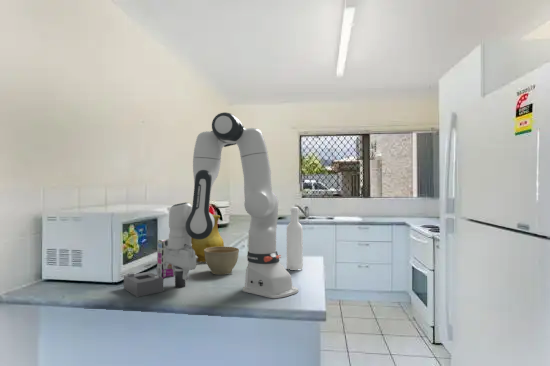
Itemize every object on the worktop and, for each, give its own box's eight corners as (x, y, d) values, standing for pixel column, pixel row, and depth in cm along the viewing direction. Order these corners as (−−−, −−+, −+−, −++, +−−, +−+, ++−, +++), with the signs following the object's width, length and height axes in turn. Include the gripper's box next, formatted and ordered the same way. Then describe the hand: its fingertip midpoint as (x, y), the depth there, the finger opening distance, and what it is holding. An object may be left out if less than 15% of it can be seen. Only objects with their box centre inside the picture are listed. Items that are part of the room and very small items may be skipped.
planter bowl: (213, 279, 155) (213, 253, 155) (198, 271, 168) (198, 248, 168) (245, 273, 164) (245, 249, 164) (228, 267, 177) (228, 245, 177)
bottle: (305, 268, 174) (305, 207, 174) (298, 271, 167) (298, 207, 167) (290, 266, 178) (290, 206, 178) (283, 269, 171) (283, 207, 171)
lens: (187, 286, 143) (187, 266, 143) (177, 288, 141) (177, 267, 141) (182, 284, 146) (182, 264, 146) (173, 286, 144) (173, 265, 144)
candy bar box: (162, 278, 155) (162, 241, 155) (156, 276, 159) (156, 239, 159) (184, 274, 163) (184, 238, 163) (178, 272, 167) (178, 237, 167)
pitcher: (204, 264, 182) (204, 215, 183) (184, 260, 195) (184, 214, 196) (230, 260, 194) (230, 214, 196) (210, 257, 207) (209, 214, 209)
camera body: (163, 291, 137) (163, 275, 137) (137, 296, 130) (137, 280, 130) (148, 283, 147) (148, 269, 147) (123, 288, 140) (123, 273, 140)
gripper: (200, 245, 138) (200, 281, 138) (176, 239, 153) (176, 271, 153) (185, 247, 134) (185, 284, 134) (162, 241, 149) (162, 274, 149)
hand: (180, 277), depth 143 cm, fingers open, 6 cm apart
